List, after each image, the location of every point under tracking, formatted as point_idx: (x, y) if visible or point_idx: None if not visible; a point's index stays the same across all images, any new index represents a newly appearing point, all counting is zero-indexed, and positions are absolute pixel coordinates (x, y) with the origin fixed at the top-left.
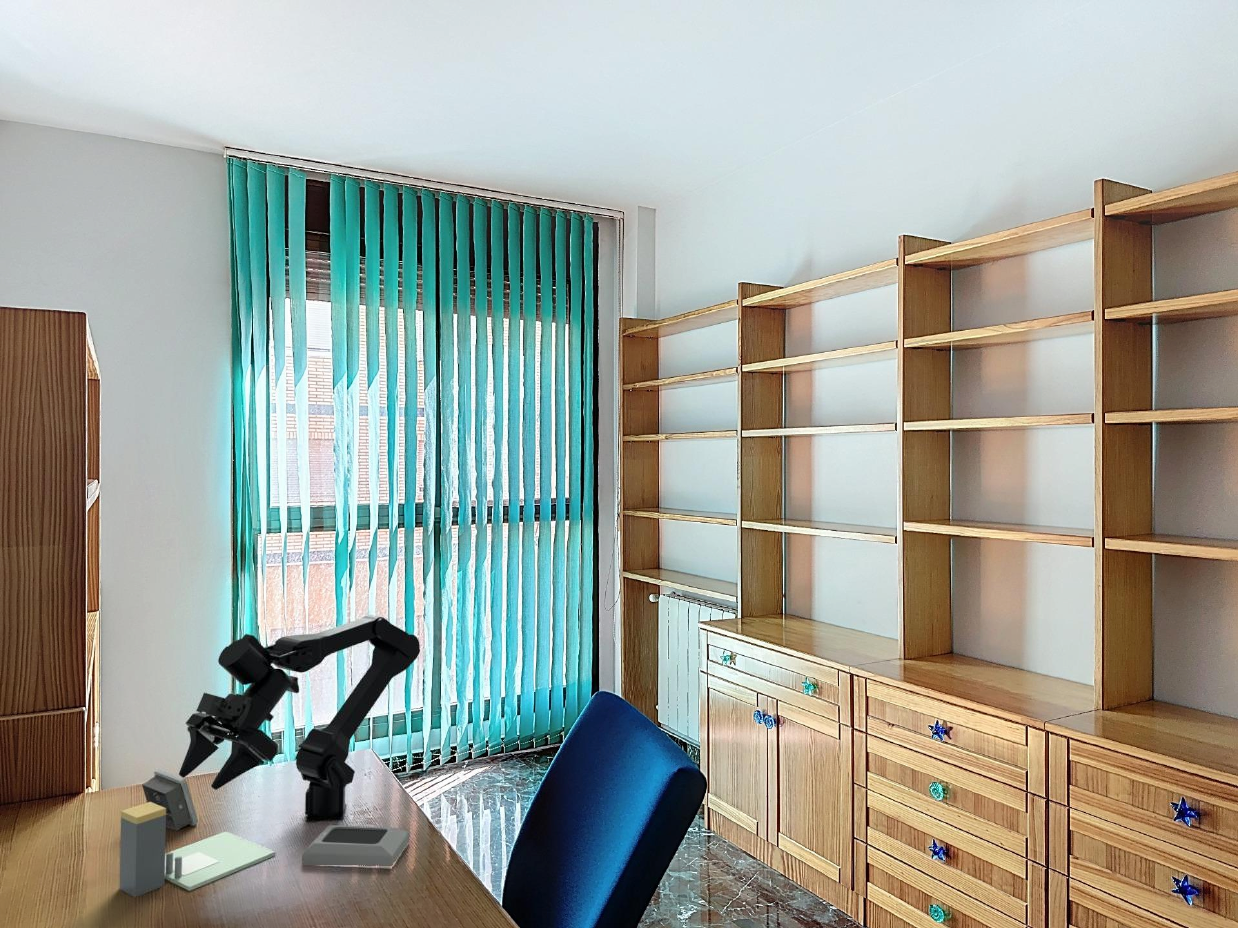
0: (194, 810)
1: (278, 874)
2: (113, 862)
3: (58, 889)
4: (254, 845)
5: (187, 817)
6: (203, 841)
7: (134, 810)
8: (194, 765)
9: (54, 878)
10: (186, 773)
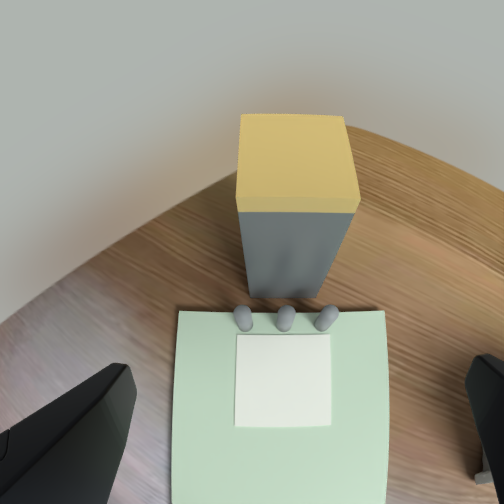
0: (492, 480)
1: None
2: (435, 287)
3: (388, 185)
4: None
5: None
6: (378, 460)
7: (313, 134)
8: (496, 447)
9: (433, 200)
10: (474, 395)
